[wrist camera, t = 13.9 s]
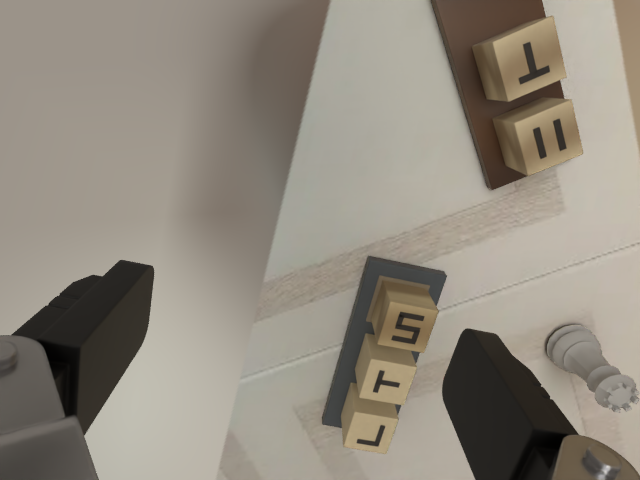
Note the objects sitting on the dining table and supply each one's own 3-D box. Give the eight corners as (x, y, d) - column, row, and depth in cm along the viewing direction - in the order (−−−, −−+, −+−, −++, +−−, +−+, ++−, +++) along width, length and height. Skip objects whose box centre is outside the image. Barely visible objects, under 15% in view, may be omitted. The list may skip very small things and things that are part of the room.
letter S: (382, 279, 38) (390, 301, 35) (426, 288, 39) (439, 311, 35) (370, 319, 40) (377, 345, 36) (413, 327, 40) (424, 354, 36)
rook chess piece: (535, 354, 43) (583, 413, 35) (559, 315, 41) (615, 368, 34) (575, 368, 43) (630, 428, 36) (600, 330, 42) (664, 385, 34)
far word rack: (368, 255, 39) (376, 280, 34) (444, 271, 39) (462, 297, 35) (322, 417, 45) (323, 458, 40) (388, 429, 45) (397, 470, 41)
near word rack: (417, -44, 31) (436, -66, 26) (514, -90, 30) (552, -122, 26) (487, 187, 37) (513, 203, 32) (570, 154, 36) (610, 165, 31)
